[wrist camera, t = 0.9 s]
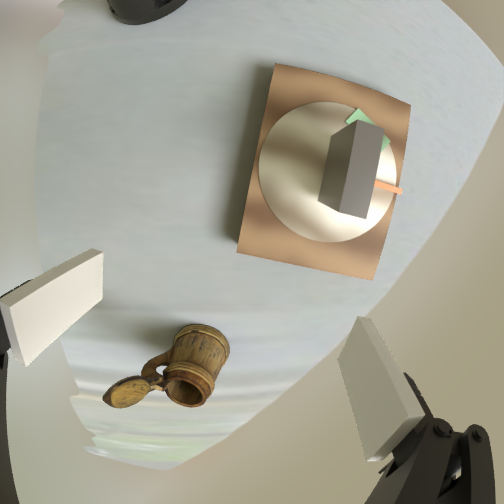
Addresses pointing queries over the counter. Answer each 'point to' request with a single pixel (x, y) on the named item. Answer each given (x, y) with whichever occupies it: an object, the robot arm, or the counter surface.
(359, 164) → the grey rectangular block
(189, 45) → the counter surface
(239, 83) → the counter surface
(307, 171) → the board
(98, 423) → the counter surface
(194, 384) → the wooden mug
